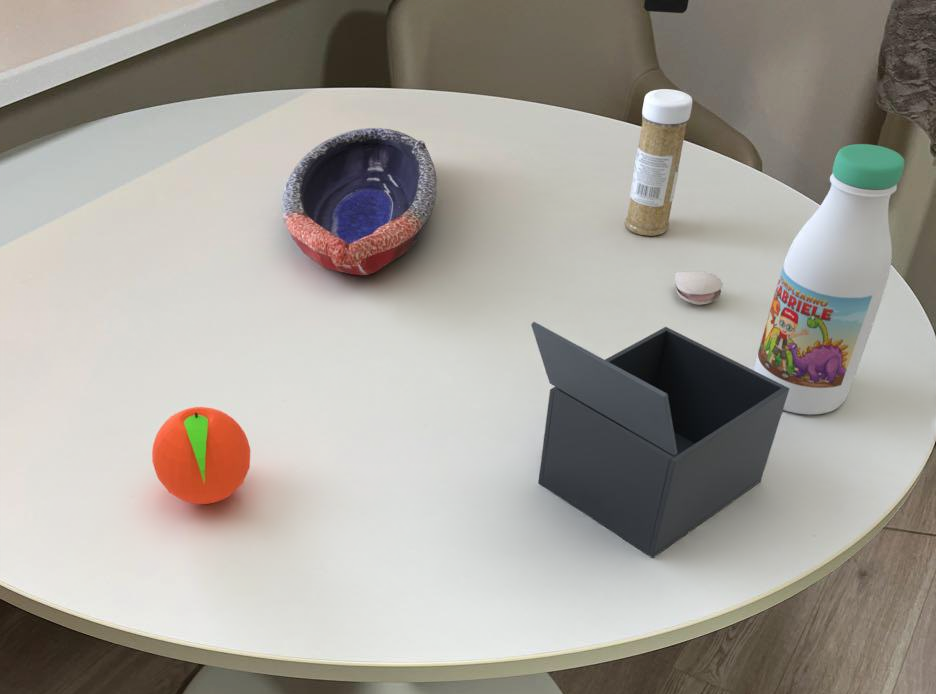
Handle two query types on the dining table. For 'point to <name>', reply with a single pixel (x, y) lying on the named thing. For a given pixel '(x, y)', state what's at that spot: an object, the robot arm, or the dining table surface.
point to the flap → (607, 388)
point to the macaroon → (698, 287)
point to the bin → (652, 468)
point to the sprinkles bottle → (657, 161)
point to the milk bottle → (832, 284)
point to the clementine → (201, 455)
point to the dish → (360, 199)
